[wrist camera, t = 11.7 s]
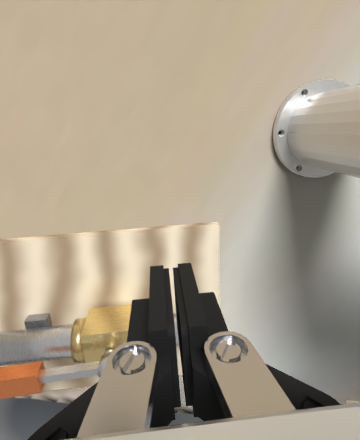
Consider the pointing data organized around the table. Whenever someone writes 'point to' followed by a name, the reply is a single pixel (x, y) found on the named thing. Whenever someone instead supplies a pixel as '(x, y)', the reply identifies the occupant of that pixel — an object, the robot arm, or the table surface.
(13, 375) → the valve handle
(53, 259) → the valve board
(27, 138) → the table surface
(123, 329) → the pipe and valve
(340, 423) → the robot arm
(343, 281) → the table surface
